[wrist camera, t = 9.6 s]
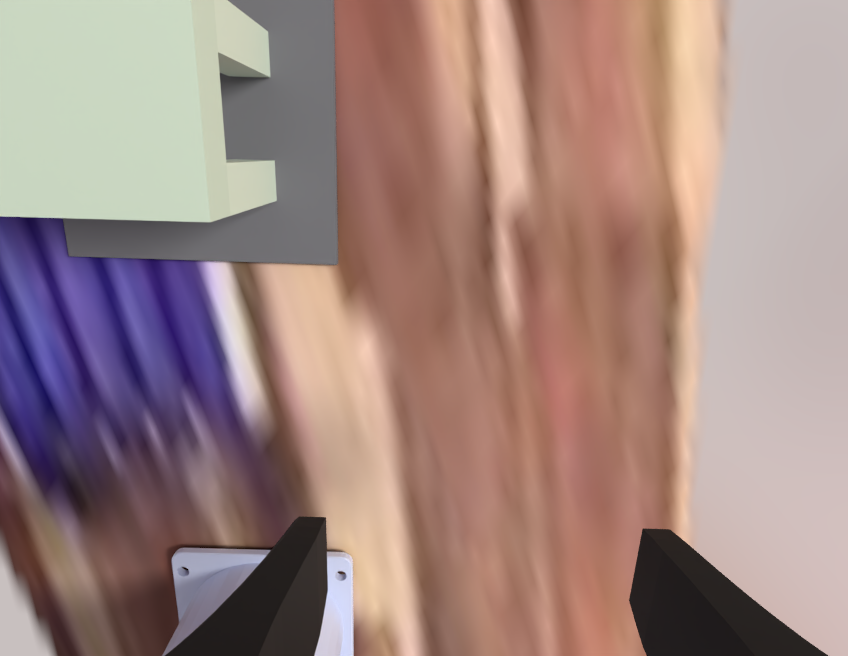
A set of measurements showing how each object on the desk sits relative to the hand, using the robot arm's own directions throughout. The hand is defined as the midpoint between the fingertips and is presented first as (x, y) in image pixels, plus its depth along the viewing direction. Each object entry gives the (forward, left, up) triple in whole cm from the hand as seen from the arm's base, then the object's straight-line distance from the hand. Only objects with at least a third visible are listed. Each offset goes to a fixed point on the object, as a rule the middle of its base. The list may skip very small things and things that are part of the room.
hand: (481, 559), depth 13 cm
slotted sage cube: (+10, +10, -10) cm, 17 cm away
